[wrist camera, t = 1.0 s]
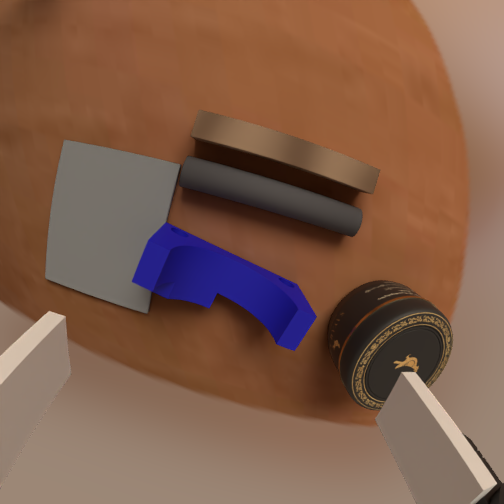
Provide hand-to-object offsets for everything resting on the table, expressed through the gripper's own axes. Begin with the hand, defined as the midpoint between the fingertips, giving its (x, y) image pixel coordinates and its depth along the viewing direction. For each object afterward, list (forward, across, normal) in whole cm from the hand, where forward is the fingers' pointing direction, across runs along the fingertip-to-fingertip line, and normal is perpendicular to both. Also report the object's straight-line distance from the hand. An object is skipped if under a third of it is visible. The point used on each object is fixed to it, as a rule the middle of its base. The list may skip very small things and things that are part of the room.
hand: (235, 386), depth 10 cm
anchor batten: (+15, +2, +10) cm, 18 cm away
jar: (+16, +14, -4) cm, 21 cm away
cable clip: (+15, -1, -2) cm, 15 cm away
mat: (+15, -12, +1) cm, 19 cm away
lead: (+16, +2, +6) cm, 17 cm away
